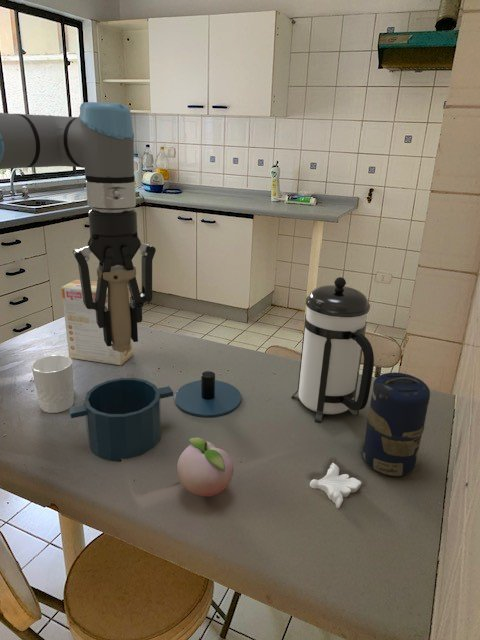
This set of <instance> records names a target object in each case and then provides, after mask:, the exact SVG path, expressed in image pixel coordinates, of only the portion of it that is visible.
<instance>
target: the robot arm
mask: <svg viewBox="0 0 480 640" xmlns="http://www.w3.org/2000/svg"><path fill="white" fill-rule="evenodd" d="M133 129H134V128H133V118H132V111H131V109H130V107H128V106H127V105H126V104H122V103H115V102H102V101H101V102H98V101H87V102H86V101H85V102H82V103H81V104H80V106H79V115H78V116H62V115H51V114H49V115H46V114H28V113H26V114H25V113H9V112H0V170H11V169H28V168H29V169H30V168H50V167H69V168H70V167H71V168H82V169H84V177H85V186H86V187H85V188H86V201H87V206H88V207H89V208H91V209H90V210H89V211H88V213H87V214H88V225H89V239H88V241H87V245H85V246H84V247H81V248H74V249H73V250H72V255H73V257H74V259H75V261H76V262H77V265H78V273H79V280H80V281H81V289H82V296H83V302H84V304H85V306H86V308H87V309H94V310H95V311H96V323H97V325H98V326H99V328H103V334H104V341H105V343H106V345H107V346H112V342H111V329H110V315H109V310H108V309H107V307H106V306H105V301H106V294H107V287H108V281H106V280H104V279H103V273H104V272H110V271H111V267H113V266H116V265H120V266H123V267H124V268H125V269H126V270H133V269H134V267H135V266H134V264H133V259H134V258H135V256H136V254H137V253H138V251H139V254H140V255H141V262H140V263H141V292H140V288H139V285H138V281H137V280H138V279H137V277H136V276H135V277H134V278H133V279H131V280H129V281H128V287H129V295H130V299H131V301H132V302H130V303H129V304H130V312H131V323H132V325H131V326H132V331H131V339H132V343H137V342H139V334H138V323H142V321H143V307H144V304H145V303H149V302H152V300H153V259H154V257H155V254H156V252H157V251H156V250H157V248H156V247H154V246H153V245H152V244H151V243H144V242H141V241H142V240H141V239H140V238H139V235H138V215H137V213H138V212H137V211H136V210H135V209H133V208H135V207H136V206H137V195H136V178H135V152H134V151H135V150H134V149H135V145H134V141H135V140H134V139H135V133H134V130H133ZM91 253H92V254H93V255H94V256H95V258H96V259H97V260H98V267H99V269H100V270H101V271H102V275H101V279H100V278H98V277H97V280H96V282H97V288H96V295H95V300H93V299H92V291H91V283H90V281H91V276H90V268H89V264H88V261H90V254H91ZM133 266H134V267H133Z"/></svg>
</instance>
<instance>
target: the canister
mask: <svg viewBox="0 0 480 640" xmlns="http://www.w3.org/2000/svg"><path fill="white" fill-rule="evenodd" d="M374 379H375V380H374V381H373V385H372V391H371V396H370V404H369V410H368V416H367V421H366V427H365V436H364V444H363V447H362V448H363V449H362V456H363V459H364V461H365V463H366V464H367V465H368V466H369V467H370V468H371V469H373V470H374V471H376V472H378V473H380V474H382V475H386V476H390V477H402V476H407V475H408V474H410V473H411V472H412V471H413V470H414V469H415V467H416V464H417V459H418V455H419V451H420V445H421V442H422V436H423V434H424V431H425V424H426V418H427V413H428V408H429V403H430V398H431V391H430V387H429V386H428V384H427V383H425V382H424V381H423V380H421V379H420V378H419V377H416V376H414V375H411V374H408V373H405V372H385V373H383V374H380V375H378V376H377V377H376V378H374Z"/></svg>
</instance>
